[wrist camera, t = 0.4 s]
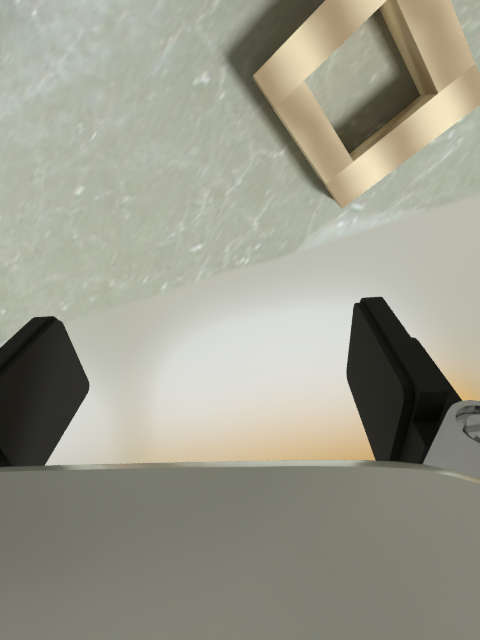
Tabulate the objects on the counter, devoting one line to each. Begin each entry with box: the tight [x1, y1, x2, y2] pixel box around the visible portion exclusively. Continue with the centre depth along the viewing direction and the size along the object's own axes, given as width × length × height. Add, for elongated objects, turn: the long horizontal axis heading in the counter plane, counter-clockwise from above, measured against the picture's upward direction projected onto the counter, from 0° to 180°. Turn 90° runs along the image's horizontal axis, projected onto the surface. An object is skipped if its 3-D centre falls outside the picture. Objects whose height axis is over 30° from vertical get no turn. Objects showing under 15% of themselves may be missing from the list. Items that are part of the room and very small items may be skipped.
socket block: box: [253, 0, 480, 208], centre depth 29 cm, size 14×14×4 cm
